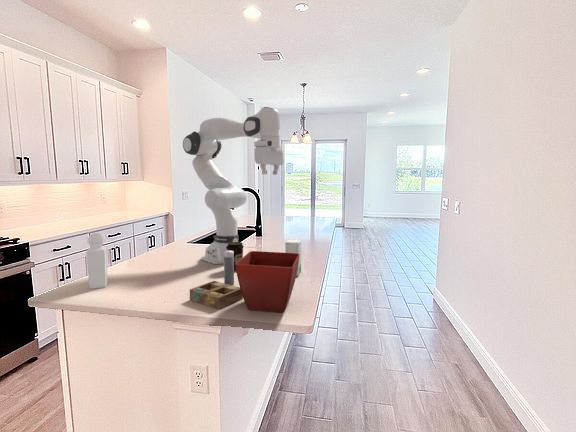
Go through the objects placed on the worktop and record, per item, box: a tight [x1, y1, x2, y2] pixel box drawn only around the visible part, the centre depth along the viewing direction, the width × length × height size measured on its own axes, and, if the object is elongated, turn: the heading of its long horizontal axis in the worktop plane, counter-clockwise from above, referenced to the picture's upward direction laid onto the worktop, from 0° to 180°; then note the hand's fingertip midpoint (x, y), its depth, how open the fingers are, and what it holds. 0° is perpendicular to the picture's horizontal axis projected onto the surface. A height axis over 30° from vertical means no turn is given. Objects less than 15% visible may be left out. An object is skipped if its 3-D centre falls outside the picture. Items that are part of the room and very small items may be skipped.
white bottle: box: [85, 232, 108, 290], centre depth 131 cm, size 6×6×22 cm
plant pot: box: [235, 250, 300, 313], centre depth 113 cm, size 19×19×17 cm
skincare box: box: [284, 239, 302, 277], centre depth 150 cm, size 8×7×16 cm
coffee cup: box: [226, 241, 244, 272], centre depth 157 cm, size 9×8×13 cm
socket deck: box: [189, 280, 244, 310], centre depth 119 cm, size 15×12×4 cm
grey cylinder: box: [223, 250, 235, 286], centre depth 135 cm, size 4×4×14 cm
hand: (270, 174), depth 149 cm, fingers open, 8 cm apart
